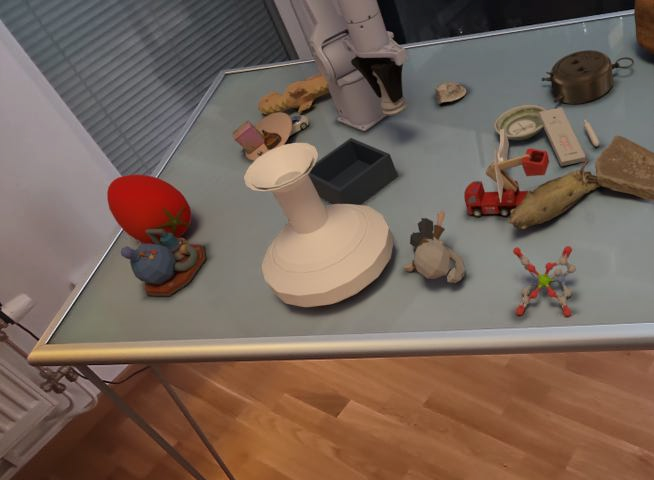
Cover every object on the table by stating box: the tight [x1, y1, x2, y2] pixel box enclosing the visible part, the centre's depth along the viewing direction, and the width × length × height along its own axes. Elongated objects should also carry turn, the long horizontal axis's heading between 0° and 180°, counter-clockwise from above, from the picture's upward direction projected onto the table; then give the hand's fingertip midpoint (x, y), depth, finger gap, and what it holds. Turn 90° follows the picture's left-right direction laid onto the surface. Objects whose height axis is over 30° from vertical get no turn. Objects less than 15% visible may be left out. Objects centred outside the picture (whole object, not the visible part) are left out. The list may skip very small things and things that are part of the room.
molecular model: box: [512, 245, 577, 317], centre depth 79 cm, size 7×8×8 cm
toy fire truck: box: [463, 147, 550, 218], centre depth 91 cm, size 3×14×10 cm, turn 75°
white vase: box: [243, 142, 395, 308], centre depth 88 cm, size 20×20×19 cm
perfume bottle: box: [231, 112, 292, 162], centre depth 122 cm, size 12×12×4 cm
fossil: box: [434, 81, 467, 105], centre depth 121 cm, size 8×4×6 cm
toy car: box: [289, 114, 309, 137], centre depth 125 cm, size 4×12×3 cm, turn 125°
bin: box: [308, 137, 399, 205], centre depth 107 cm, size 11×11×4 cm
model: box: [120, 229, 207, 297], centre depth 101 cm, size 12×9×9 cm
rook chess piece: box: [372, 71, 408, 117], centre depth 104 cm, size 4×4×8 cm
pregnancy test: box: [539, 106, 600, 167], centre depth 101 cm, size 8×12×1 cm, turn 14°
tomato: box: [106, 174, 192, 246], centre depth 107 cm, size 13×11×14 cm
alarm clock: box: [540, 49, 635, 105], centre depth 111 cm, size 11×5×16 cm
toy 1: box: [257, 71, 331, 116], centre depth 132 cm, size 5×12×20 cm
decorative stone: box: [594, 135, 654, 202], centre depth 90 cm, size 10×6×15 cm
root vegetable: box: [507, 159, 603, 230], centre depth 91 cm, size 5×20×5 cm
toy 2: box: [404, 210, 466, 284], centre depth 89 cm, size 10×8×15 cm
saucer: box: [493, 104, 547, 141], centre depth 107 cm, size 10×10×2 cm
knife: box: [494, 129, 510, 203], centre depth 93 cm, size 26×4×1 cm
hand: (390, 97), depth 106 cm, fingers closed on rook chess piece, 3 cm apart
